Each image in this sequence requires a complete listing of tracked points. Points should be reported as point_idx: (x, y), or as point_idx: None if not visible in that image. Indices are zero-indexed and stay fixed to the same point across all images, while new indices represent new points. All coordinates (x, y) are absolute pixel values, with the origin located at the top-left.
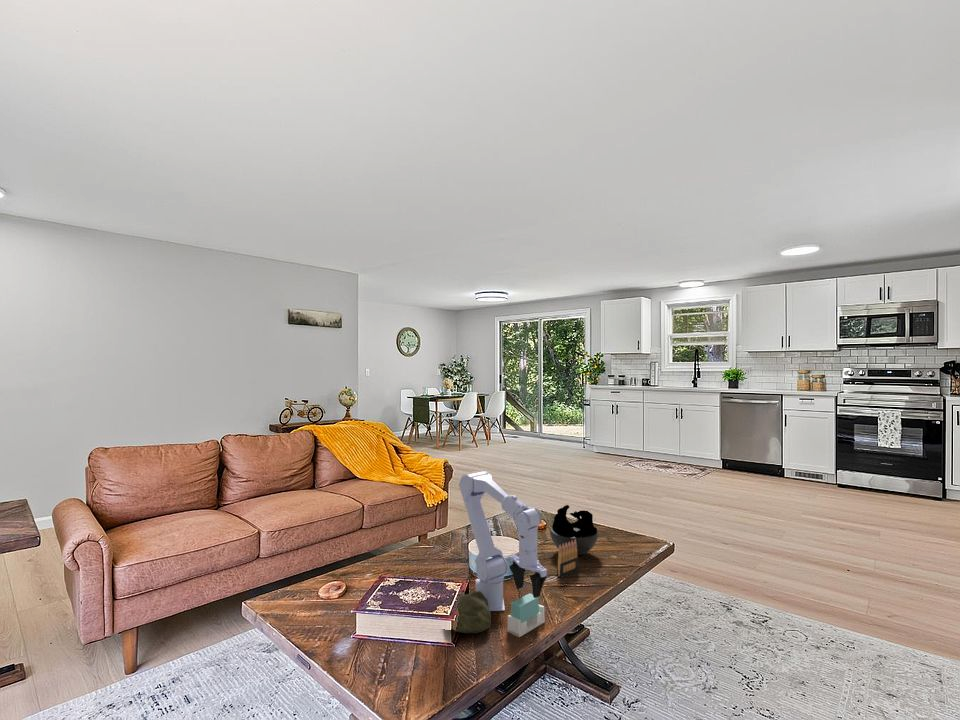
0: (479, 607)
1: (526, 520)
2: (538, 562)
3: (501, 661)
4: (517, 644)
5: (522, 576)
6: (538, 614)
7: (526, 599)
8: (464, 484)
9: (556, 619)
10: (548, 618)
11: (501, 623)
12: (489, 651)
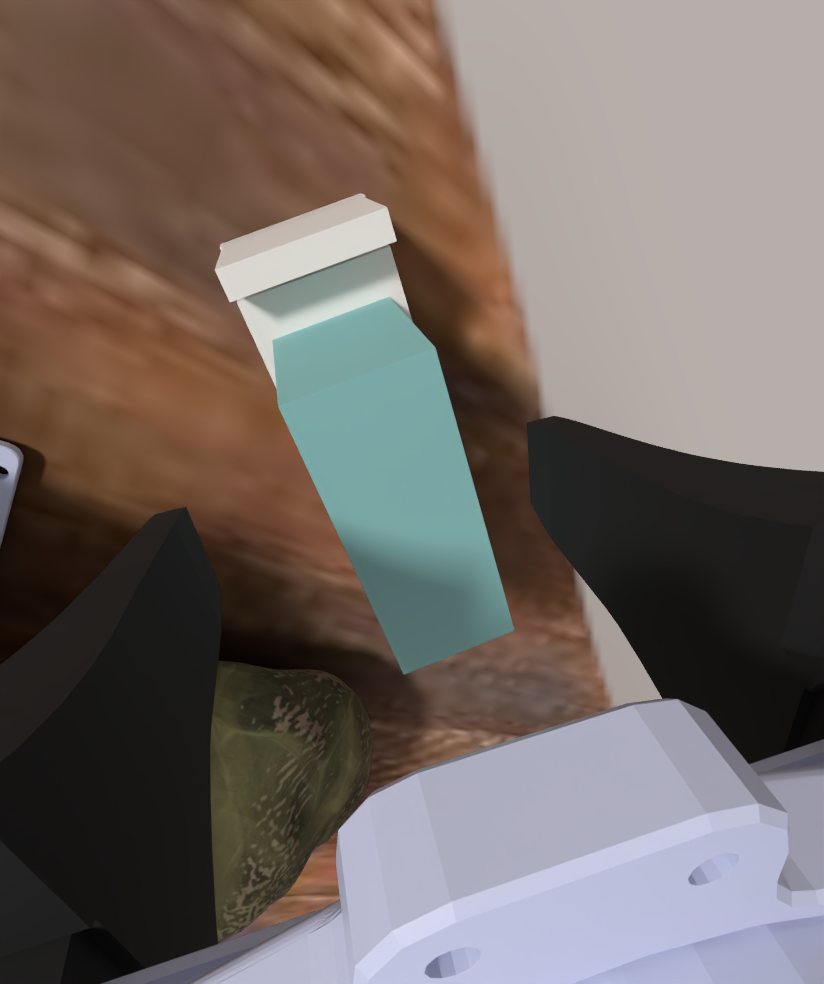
0: (303, 841)
1: None
2: (722, 765)
3: (583, 653)
4: (513, 540)
5: (148, 629)
6: (409, 312)
7: (421, 522)
8: None
9: (370, 20)
10: (312, 99)
11: (229, 538)
12: (484, 677)
